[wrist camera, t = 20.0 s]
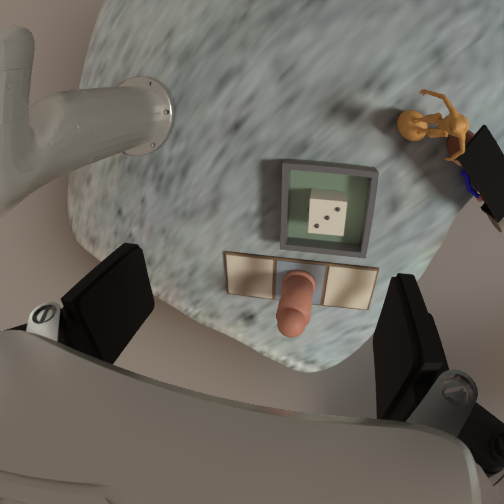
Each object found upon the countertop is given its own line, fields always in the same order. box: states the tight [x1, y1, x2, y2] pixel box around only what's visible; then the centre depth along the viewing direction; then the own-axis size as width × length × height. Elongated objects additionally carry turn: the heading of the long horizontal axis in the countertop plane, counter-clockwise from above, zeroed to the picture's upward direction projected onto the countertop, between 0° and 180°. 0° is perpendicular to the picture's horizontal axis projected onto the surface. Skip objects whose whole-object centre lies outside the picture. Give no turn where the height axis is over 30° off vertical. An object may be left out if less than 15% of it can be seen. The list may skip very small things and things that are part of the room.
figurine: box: [397, 89, 469, 161], centre depth 25 cm, size 8×6×12 cm
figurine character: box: [447, 125, 504, 232], centre depth 28 cm, size 7×8×15 cm
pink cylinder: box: [276, 270, 316, 337], centre depth 41 cm, size 5×5×11 cm
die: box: [308, 188, 347, 236], centre depth 36 cm, size 5×5×5 cm
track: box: [225, 251, 379, 310], centre depth 45 cm, size 24×8×1 cm, turn 91°
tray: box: [280, 159, 379, 258], centre depth 38 cm, size 12×12×3 cm
